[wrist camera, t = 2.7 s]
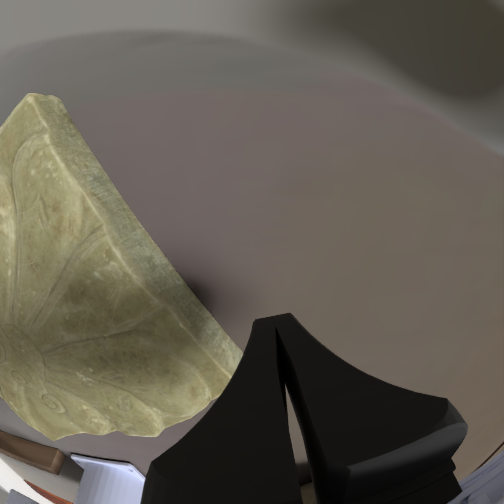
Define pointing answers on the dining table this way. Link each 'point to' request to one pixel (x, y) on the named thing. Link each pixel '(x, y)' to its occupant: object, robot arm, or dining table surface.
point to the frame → (32, 453)
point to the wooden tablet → (48, 495)
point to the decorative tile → (91, 296)
